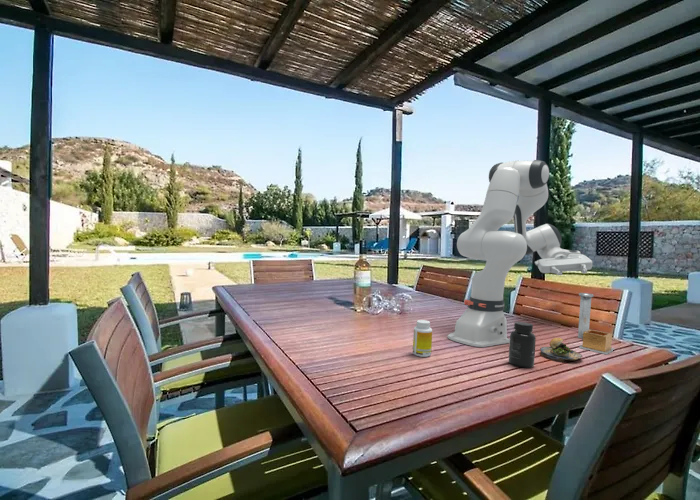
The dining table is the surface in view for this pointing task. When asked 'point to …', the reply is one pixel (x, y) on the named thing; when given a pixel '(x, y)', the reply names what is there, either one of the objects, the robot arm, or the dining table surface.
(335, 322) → the dining table surface
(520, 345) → the supplement bottle
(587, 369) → the dining table surface
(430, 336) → the supplement bottle
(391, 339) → the dining table surface
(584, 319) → the drop pin
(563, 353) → the burger
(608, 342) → the block
